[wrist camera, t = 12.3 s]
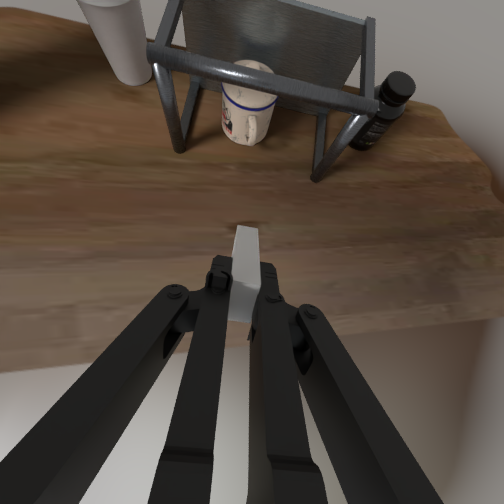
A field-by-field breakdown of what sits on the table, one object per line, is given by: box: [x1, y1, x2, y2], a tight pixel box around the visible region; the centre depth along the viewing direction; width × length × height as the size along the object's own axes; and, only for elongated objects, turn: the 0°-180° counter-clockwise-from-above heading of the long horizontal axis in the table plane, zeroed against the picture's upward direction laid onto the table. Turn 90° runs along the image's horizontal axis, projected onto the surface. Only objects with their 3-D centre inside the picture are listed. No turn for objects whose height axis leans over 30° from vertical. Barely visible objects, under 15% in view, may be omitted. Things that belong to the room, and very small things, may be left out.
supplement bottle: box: [348, 71, 416, 151], centre depth 43 cm, size 7×7×12 cm
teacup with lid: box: [221, 60, 279, 146], centre depth 40 cm, size 12×9×12 cm
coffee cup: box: [77, 0, 152, 86], centre depth 38 cm, size 10×10×15 cm
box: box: [146, 0, 379, 183], centre depth 38 cm, size 27×16×17 cm, turn 81°
